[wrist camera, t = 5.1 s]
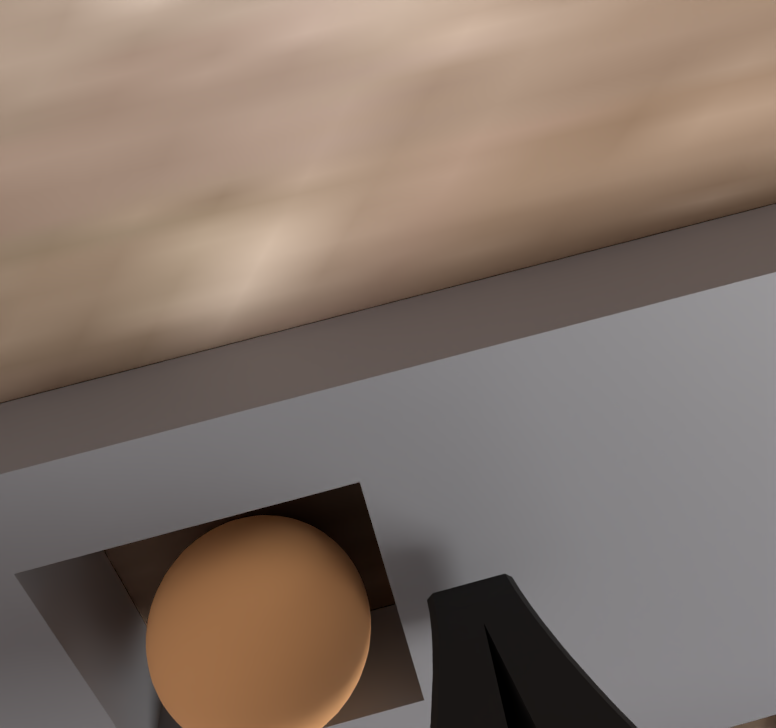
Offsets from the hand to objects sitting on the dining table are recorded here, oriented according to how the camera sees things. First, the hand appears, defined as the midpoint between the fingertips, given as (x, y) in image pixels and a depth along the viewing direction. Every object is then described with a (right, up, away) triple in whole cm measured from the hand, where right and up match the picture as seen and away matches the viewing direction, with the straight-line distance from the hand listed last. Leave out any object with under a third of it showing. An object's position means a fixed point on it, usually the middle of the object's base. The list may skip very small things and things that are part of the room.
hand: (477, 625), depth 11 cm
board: (0, +1, +3) cm, 4 cm away
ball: (-4, -1, +1) cm, 4 cm away
